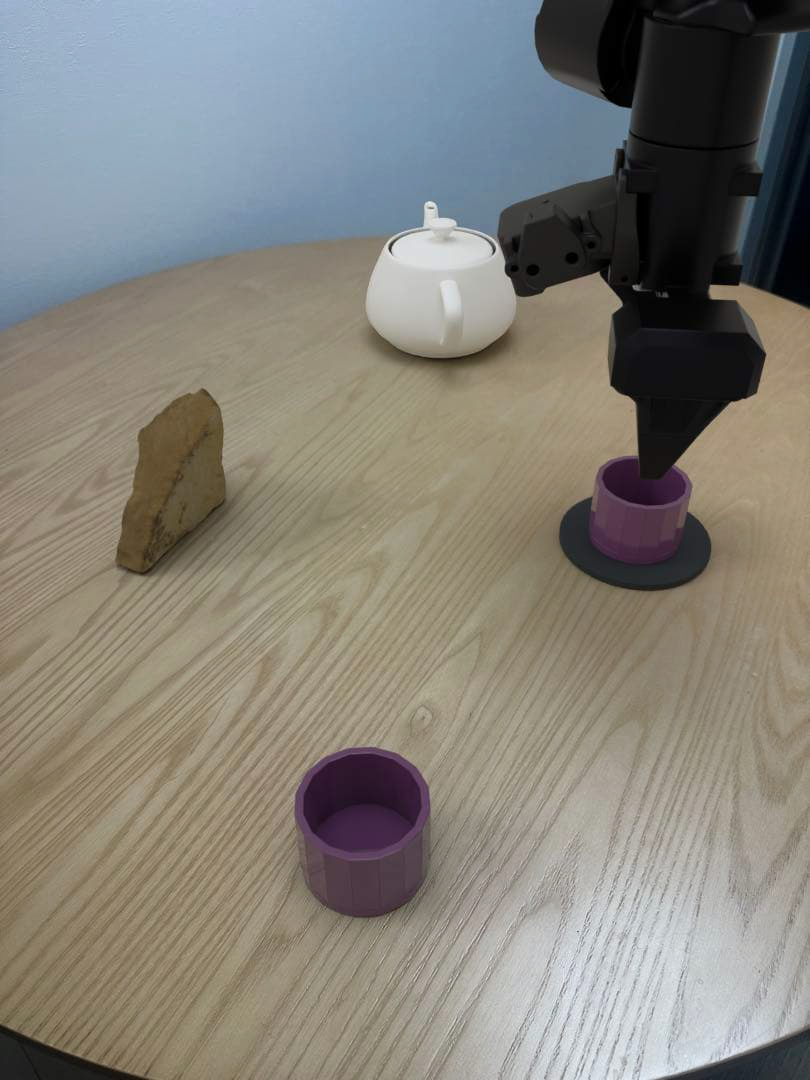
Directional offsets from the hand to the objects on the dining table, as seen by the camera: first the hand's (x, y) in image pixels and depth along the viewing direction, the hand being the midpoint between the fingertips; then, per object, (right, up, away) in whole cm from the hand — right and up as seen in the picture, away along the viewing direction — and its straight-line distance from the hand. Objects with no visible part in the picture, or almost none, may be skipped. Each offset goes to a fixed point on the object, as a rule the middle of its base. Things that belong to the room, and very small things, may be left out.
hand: (643, 431), depth 52 cm
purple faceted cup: (-15, -21, -7) cm, 27 cm away
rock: (-29, -5, +13) cm, 33 cm away
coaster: (+2, -6, +12) cm, 13 cm away
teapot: (-10, +13, +36) cm, 40 cm away
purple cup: (+2, -6, +11) cm, 13 cm away
